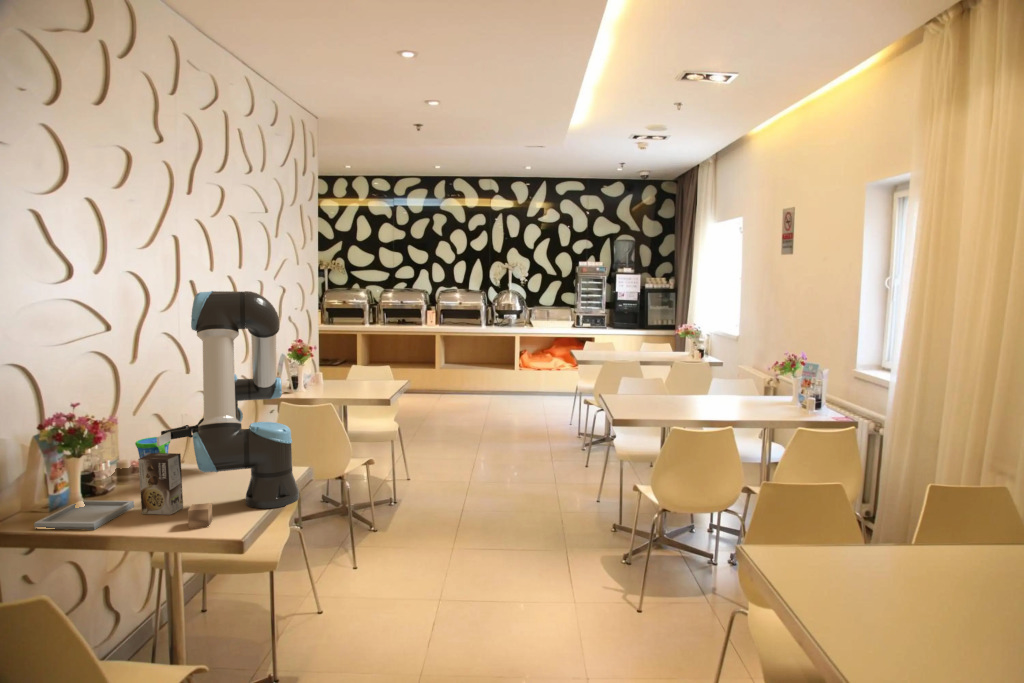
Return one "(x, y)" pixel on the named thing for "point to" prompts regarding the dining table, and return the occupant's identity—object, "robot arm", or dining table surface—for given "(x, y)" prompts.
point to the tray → (85, 515)
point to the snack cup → (150, 446)
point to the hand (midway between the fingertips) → (180, 442)
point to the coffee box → (161, 483)
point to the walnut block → (200, 515)
